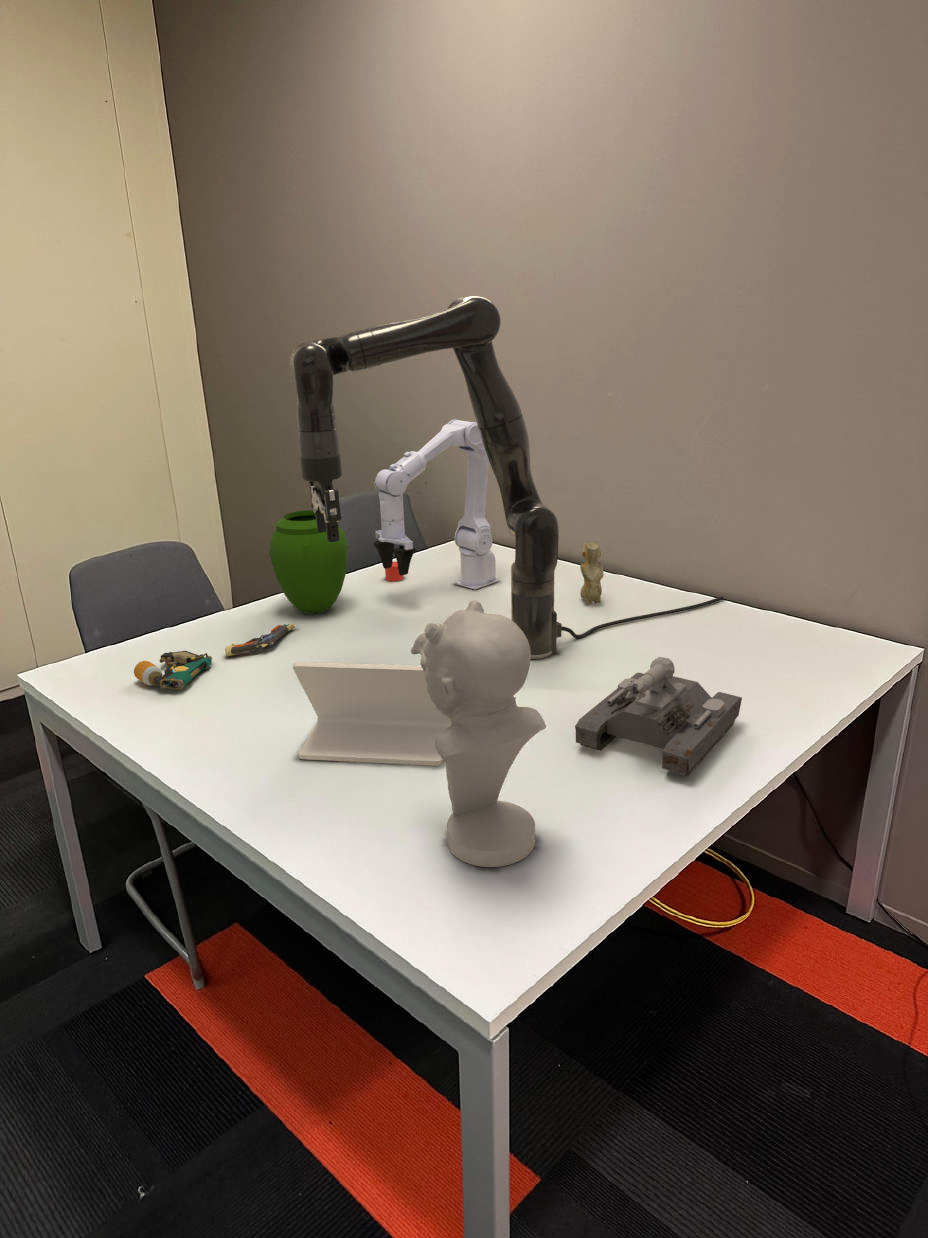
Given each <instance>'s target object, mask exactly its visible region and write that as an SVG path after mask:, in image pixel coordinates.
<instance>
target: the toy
mask: <svg viewBox="0 0 928 1238" xmlns="http://www.w3.org/2000/svg"><path fill="white" fill-rule="evenodd" d="M649 665H650V666H649V669H648V670H647V671H645V672H644V673H643V672H636V673H634V674H633V675H632V676H631V677H628V678H624V679H623V680H622V681H620V682H619V683H618V684H617V688H616V689H614V691H612V692H611V693H610V694H609V695H607V696H606V697H605V698H603V699H602V700H601V701H600V702H598V703H597V704H595V706H593V707H592V708H591V709H590V710H589V711H587V712H586V713H585V714H583V716H581V717H580V718H579V719H578V721H577V722H576V724H575V725H574V729H575V743H577V744H579V746H582V747H586V748H588V749H592V750H595V751H598V752H602V751H603V750H604V749H605V748H606V747H607V746H609V745H610V744H612V742H613V741H614V740H615V739H616V738H621V739H625V740H629V741H632V742H635V743H638V744H642V745H646V746H648V747H649V746H650V747H652V748H656V749H660V750H662V759H661V769H663V770H666V771H669V772H673V773H676V774H679V775H683V776H687V777H689V776H690V775H691V774H692V772H694V771H695V769H696V768H697V767H698V766H699V765H700V763H701V762H702V761H703V760H704V759H705V758H706V757H707V756H708V754H709V753H710V752H712V750H713V749H714V748H715V746H717V744H719V742H720V741H721V740H722V739H723V737H724V736H725V735H726V734H727V733H728V732H729V731H730V729H732V727H733V726H734V725H735V722H736V719H738V717H739V715H740V711H741V706H742V700H743V697H742V696H738V695H735V694H730V693H726V692H721V691H718V692H716V693H715V694H714V695H713V696H711V695H710V694H709V692H707V690H705V688H704V687H703V686H702V685H701V684H700V683H699V682H698V681H695V680H692V679H687V678H683V677H678V676H674V675H675V673H676V672H675V664H674V661H672V660H671V659H670V658H669V657H663V656H662V657H661V656H658V657H656V658H655V659H654V660H652V661H651V663H650V664H649Z"/></svg>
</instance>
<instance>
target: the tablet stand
mask: <svg viewBox="0 0 928 1238" xmlns="http://www.w3.org/2000/svg"><path fill="white" fill-rule="evenodd" d="M292 665H293V666H292V670H293V671H294V673H295V675H296V677H297V679H298V681H299V683H300V685H301V687H302V689H303V692H304V694H305V695H306V697H307V699H308V700H309V703H310V704H311V706H312V708H313V711H314V712H315V714H316V716H317V721H316V724H315V725H314V727H313V728H312V731H311V732H310V734H309V735H308V736H307V738H306V739H305V741H304V742H303V745H301V748H300V749H299V750H298V759H300V760H311V761H312V760H314V761H333V762H334V761H335V762H353V763H354V762H355V763H377V764H396V765H398V764H399V765H417V766H440V765H442V763H443V759H442V758H441V756H440V755H439V753H438V752H437V750H436V747H435V740H436V737H437V736H438V735H439V734H440V733H441V732H442V731H443V730H445V729H446V728H448V727H450V726H451V720H450V719H449V718H448V717H447V716H446V715H443V714H442V713H441V712H440V711H439V710H438V709H437V708H436V706H435V704H434V703H433V702H432V701H431V698H430V695H429V693H428V691H427V683H426V681H425V671H424V670H423V669H422V667H421V665H412V664H410V665H409V664H408V665H407V664H377V663H375V664H374V663H346V662H344V663H343V662H317V661H316V662H315V661H313V662H312V661H295V662H293V664H292Z"/></svg>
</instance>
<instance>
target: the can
mask: <svg viewBox="0 0 928 1238" xmlns="http://www.w3.org/2000/svg"><path fill="white" fill-rule="evenodd" d="M384 574H385V577H384V578H385V580H386V581H387V582H399V581H402V580H404V575H402V576H401V575H400V574H399V571H398V564H397V561H393V562H392V567H391V568H386V569H384Z"/></svg>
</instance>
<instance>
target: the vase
mask: <svg viewBox="0 0 928 1238" xmlns="http://www.w3.org/2000/svg"><path fill="white" fill-rule="evenodd" d="M316 514H317V513H314V511H313V509H308V510H298V511H291V512H289V513H286V514H284V515H283V516H282V517H281V518H280V519H279V520H277V521H276V523H275V527H276V529H275V530H274V532H273V534H272V535H271V536H270V541H269V551H268V554H269V558H270V561H271V565H272V569H273V572H274V576H275V578H276V580H277V582H278V584H279V586H280V589H281V590H282V592H283V595H284V596H285V597H286V599H287V600H288V601H289V603H290V604H291V605H292V606H293V607H294V608H295V609H296V610H297V611H299V612H301V613H303V614H308V615H309V614H310V615H311V614H312V615H314V614H321V613H324V612H327V611H328V610H330V609H331V608H332V607H333V605H334V604H336V601H338V600H337V599H338V598H339V596H340V594H341V592H342V589H343V585H344V582H345V580H346V579H345V578H346V575H347V571H348V560H349V559H348V558H349V543H348V540H347V536H346V533H345V531H344V530H343V529H342V527H340V526H339V525H338V529H339V541H336V542H329V541H328V540H327V532H318V531H317V524H316Z"/></svg>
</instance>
